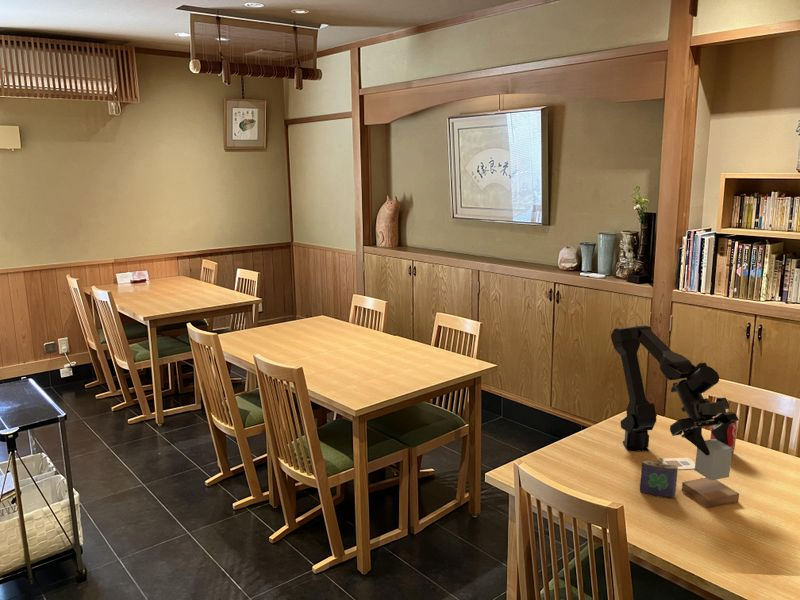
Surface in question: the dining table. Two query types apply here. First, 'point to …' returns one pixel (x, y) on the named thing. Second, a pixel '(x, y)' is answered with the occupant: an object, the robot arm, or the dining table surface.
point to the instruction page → (680, 463)
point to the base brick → (710, 492)
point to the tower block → (714, 460)
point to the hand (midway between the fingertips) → (717, 453)
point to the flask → (658, 479)
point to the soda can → (729, 435)
